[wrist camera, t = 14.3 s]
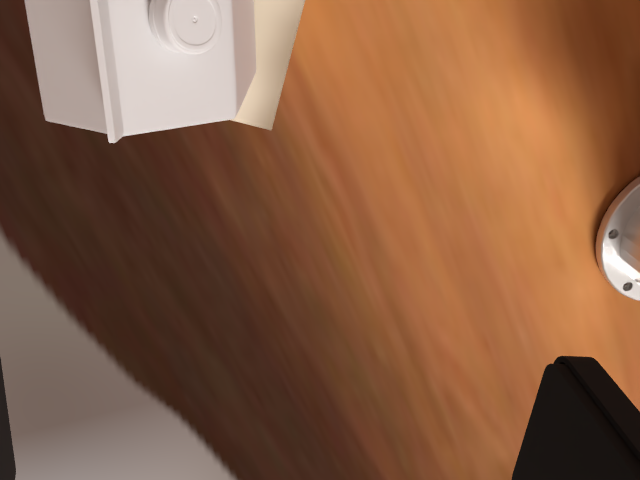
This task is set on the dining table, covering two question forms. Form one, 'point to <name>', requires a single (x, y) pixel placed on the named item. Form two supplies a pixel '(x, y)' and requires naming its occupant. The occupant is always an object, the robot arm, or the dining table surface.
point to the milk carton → (142, 62)
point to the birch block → (270, 59)
